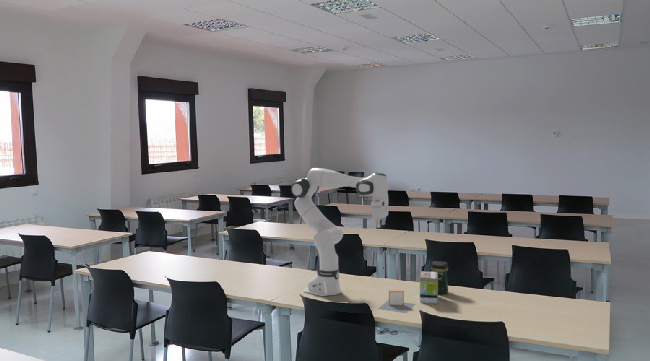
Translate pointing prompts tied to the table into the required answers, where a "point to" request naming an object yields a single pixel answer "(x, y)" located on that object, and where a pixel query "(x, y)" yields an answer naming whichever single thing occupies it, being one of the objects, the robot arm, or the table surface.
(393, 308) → the mat
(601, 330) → the table surface
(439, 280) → the coffee jar
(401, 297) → the tile
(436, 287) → the tea box
